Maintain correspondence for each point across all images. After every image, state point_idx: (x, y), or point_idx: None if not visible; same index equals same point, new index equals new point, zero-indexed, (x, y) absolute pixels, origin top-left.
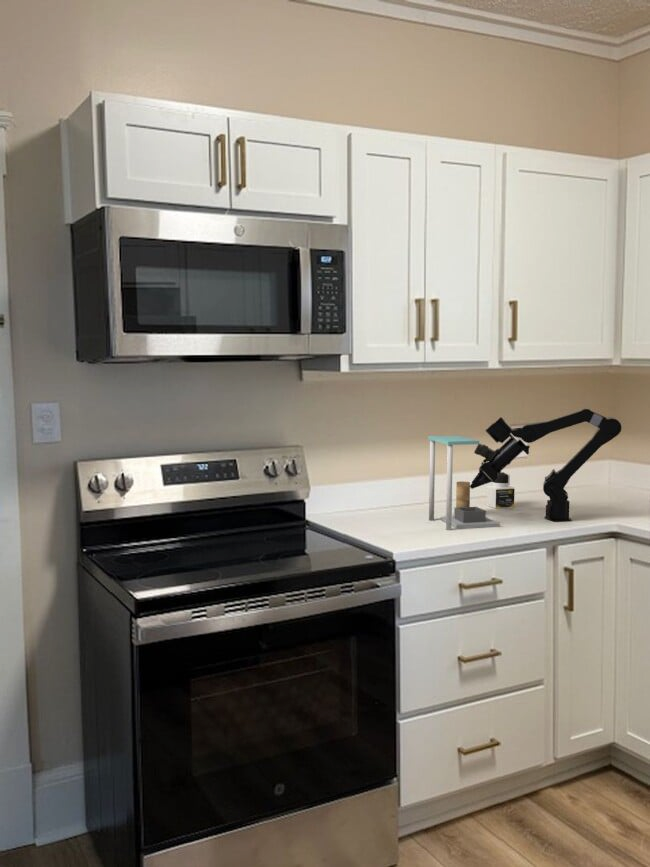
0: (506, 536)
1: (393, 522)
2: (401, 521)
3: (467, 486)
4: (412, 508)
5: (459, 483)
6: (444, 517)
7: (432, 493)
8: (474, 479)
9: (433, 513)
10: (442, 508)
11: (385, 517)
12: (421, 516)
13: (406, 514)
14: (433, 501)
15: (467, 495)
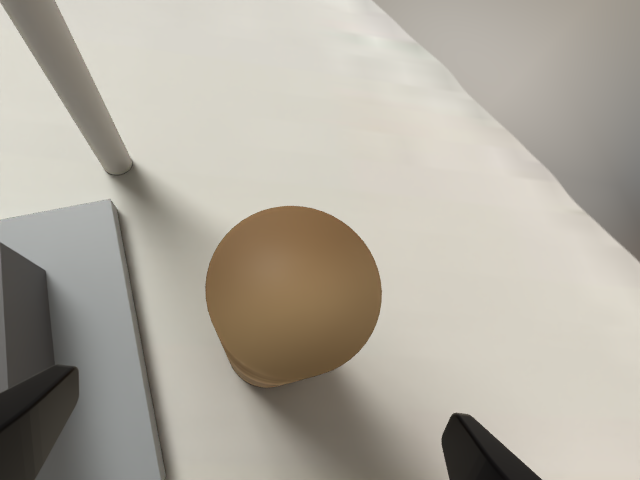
0: None
1: (80, 19)
2: (101, 47)
3: (222, 342)
4: (419, 126)
5: (230, 232)
6: (91, 216)
7: (16, 24)
8: (481, 460)
9: (90, 146)
10: (455, 247)
11: (202, 14)
12: (228, 135)
13: (275, 87)
14: (54, 87)
15: (228, 356)
